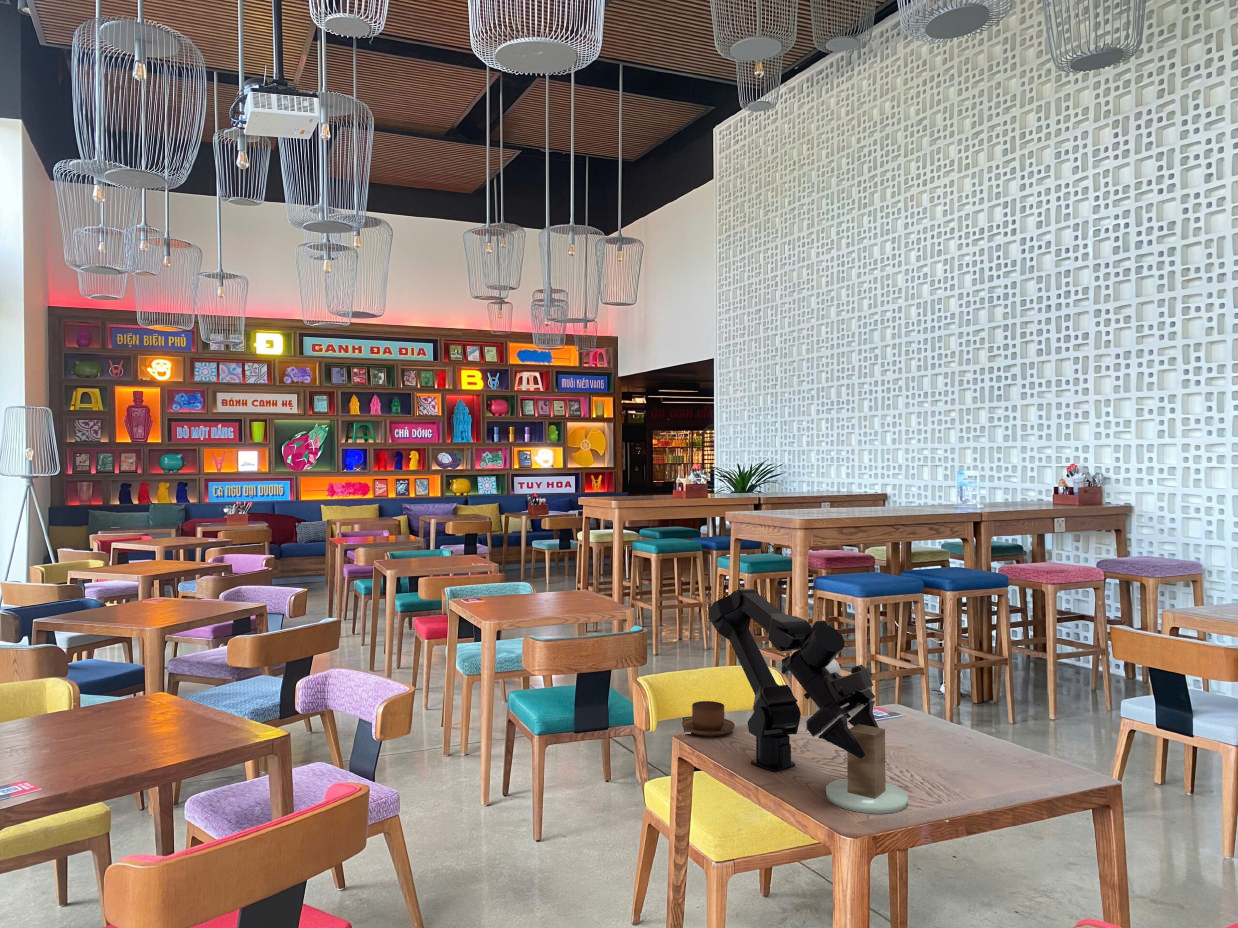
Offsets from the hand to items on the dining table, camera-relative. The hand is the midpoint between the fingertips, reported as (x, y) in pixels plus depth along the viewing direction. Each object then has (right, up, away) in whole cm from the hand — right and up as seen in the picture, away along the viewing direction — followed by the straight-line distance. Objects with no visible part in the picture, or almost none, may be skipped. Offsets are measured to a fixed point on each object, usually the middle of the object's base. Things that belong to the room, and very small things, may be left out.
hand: (873, 750), depth 147 cm
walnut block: (-1, -8, +1) cm, 8 cm away
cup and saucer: (-25, -11, +42) cm, 50 cm away
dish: (-1, -9, +1) cm, 9 cm away
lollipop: (+5, -11, +52) cm, 53 cm away
